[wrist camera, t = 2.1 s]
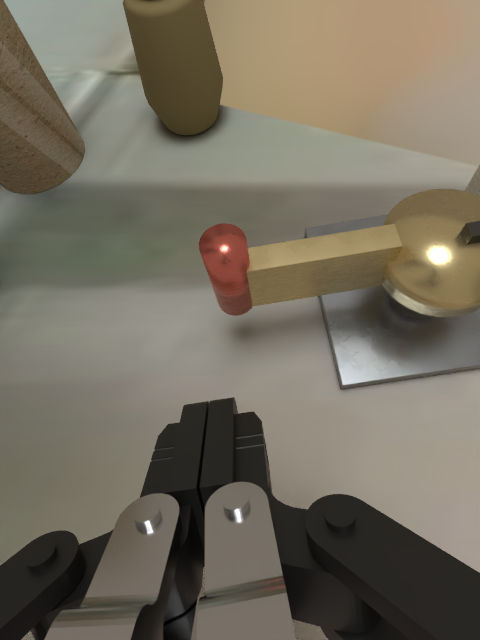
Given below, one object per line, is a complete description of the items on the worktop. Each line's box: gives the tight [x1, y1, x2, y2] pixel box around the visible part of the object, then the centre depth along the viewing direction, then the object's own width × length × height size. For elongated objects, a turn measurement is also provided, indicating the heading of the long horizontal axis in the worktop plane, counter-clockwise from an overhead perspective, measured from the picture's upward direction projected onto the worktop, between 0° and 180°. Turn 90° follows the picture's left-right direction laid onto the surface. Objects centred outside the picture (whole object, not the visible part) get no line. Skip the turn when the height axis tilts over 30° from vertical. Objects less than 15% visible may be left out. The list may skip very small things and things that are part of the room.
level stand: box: [305, 165, 480, 389], centre depth 29 cm, size 15×14×8 cm
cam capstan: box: [199, 189, 480, 317], centre depth 24 cm, size 19×8×6 cm, turn 97°
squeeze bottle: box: [123, 0, 223, 135], centre depth 36 cm, size 8×8×18 cm
